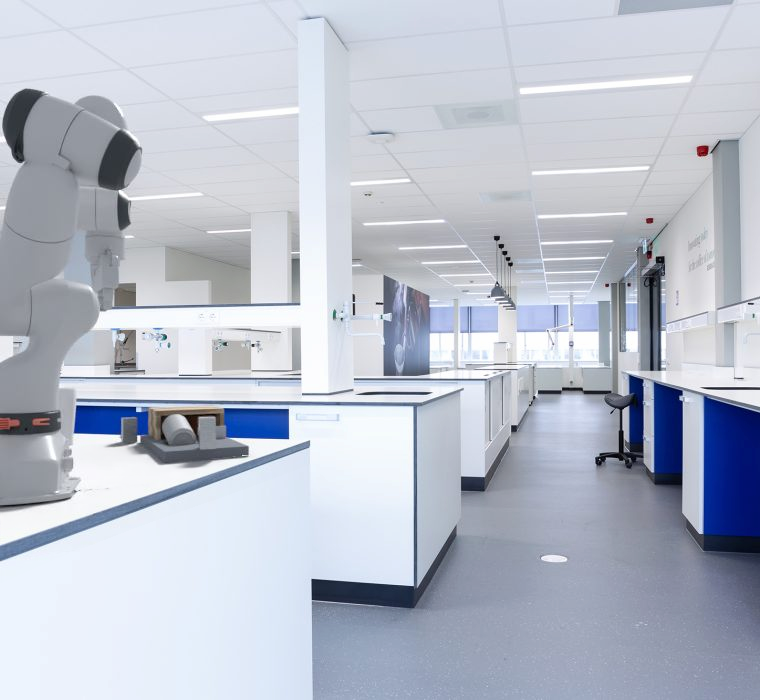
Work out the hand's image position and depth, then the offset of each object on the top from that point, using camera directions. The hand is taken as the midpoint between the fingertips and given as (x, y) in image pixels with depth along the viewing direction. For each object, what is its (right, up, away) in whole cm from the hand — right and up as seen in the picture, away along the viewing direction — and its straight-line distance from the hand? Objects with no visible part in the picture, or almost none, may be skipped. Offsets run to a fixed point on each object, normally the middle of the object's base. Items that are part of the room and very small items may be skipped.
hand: (105, 310), depth 163 cm
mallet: (-4, -34, +25) cm, 43 cm away
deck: (+18, -34, +9) cm, 39 cm away
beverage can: (+18, -31, +2) cm, 36 cm away
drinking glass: (-17, -34, +16) cm, 42 cm away
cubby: (+13, -32, +19) cm, 39 cm away
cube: (+17, -32, +23) cm, 42 cm away
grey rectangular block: (+24, -32, +4) cm, 40 cm away
